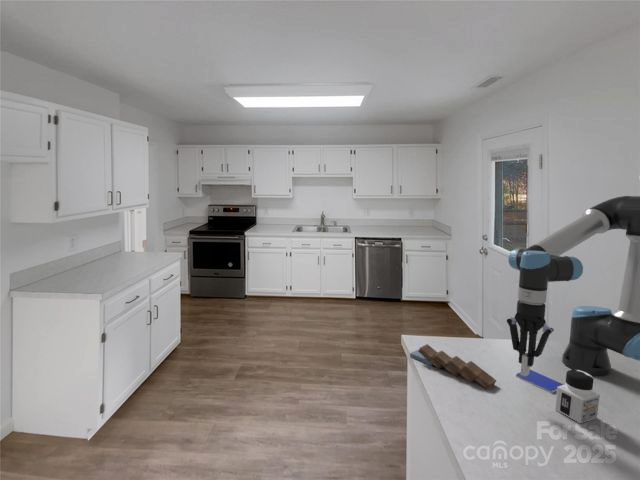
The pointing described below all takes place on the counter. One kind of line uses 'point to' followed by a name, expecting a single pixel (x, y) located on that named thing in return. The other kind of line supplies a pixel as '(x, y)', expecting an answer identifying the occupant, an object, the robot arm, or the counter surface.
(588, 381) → the container
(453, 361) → the domino
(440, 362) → the domino
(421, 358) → the end domino
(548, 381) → the hard drive
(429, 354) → the domino
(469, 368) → the domino
